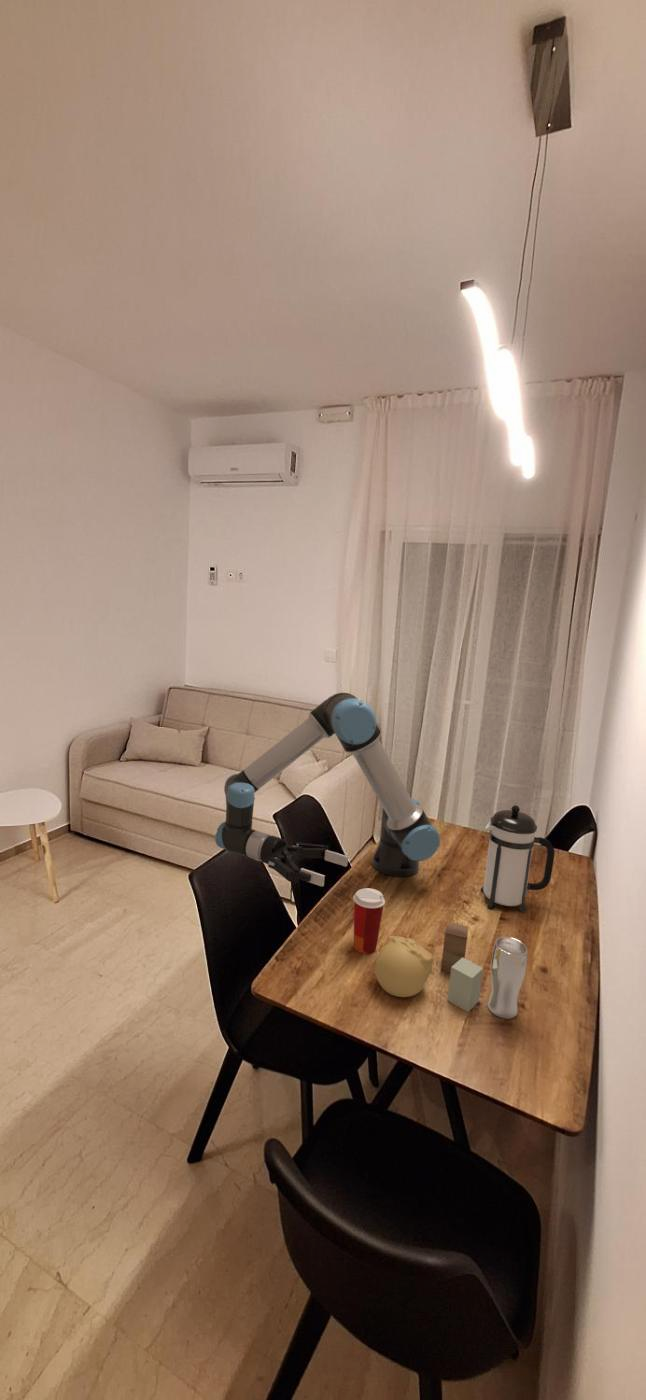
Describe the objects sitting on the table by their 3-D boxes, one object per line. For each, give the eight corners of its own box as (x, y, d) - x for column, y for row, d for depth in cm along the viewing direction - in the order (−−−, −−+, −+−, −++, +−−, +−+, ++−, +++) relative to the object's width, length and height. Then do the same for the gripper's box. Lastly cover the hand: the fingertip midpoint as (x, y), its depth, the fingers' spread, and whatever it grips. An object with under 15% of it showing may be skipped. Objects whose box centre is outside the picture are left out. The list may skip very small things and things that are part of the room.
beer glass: (524, 1009, 122) (533, 946, 119) (511, 1025, 117) (520, 959, 114) (494, 993, 126) (502, 932, 124) (479, 1008, 121) (488, 944, 119)
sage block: (458, 989, 127) (462, 957, 125) (478, 1001, 123) (483, 968, 122) (447, 1000, 123) (451, 966, 122) (467, 1012, 120) (472, 978, 118)
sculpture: (437, 988, 126) (442, 944, 125) (404, 1012, 118) (409, 966, 116) (397, 963, 134) (401, 921, 133) (363, 984, 126) (367, 940, 124)
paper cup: (382, 942, 143) (387, 890, 140) (377, 959, 135) (382, 905, 133) (352, 935, 145) (357, 884, 142) (345, 952, 137) (350, 899, 135)
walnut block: (442, 959, 137) (447, 921, 136) (463, 964, 136) (468, 926, 134) (440, 971, 133) (445, 932, 131) (462, 977, 131) (467, 937, 129)
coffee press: (512, 922, 156) (526, 820, 151) (466, 896, 169) (478, 801, 164) (547, 906, 167) (562, 810, 162) (502, 883, 179) (514, 792, 174)
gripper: (288, 846, 166) (354, 866, 156) (238, 878, 144) (311, 904, 134) (291, 822, 165) (357, 841, 155) (240, 851, 143) (314, 875, 133)
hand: (335, 871), depth 145 cm, fingers open, 13 cm apart
